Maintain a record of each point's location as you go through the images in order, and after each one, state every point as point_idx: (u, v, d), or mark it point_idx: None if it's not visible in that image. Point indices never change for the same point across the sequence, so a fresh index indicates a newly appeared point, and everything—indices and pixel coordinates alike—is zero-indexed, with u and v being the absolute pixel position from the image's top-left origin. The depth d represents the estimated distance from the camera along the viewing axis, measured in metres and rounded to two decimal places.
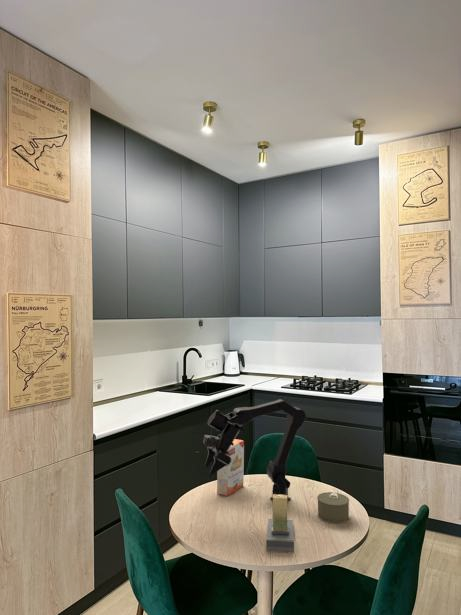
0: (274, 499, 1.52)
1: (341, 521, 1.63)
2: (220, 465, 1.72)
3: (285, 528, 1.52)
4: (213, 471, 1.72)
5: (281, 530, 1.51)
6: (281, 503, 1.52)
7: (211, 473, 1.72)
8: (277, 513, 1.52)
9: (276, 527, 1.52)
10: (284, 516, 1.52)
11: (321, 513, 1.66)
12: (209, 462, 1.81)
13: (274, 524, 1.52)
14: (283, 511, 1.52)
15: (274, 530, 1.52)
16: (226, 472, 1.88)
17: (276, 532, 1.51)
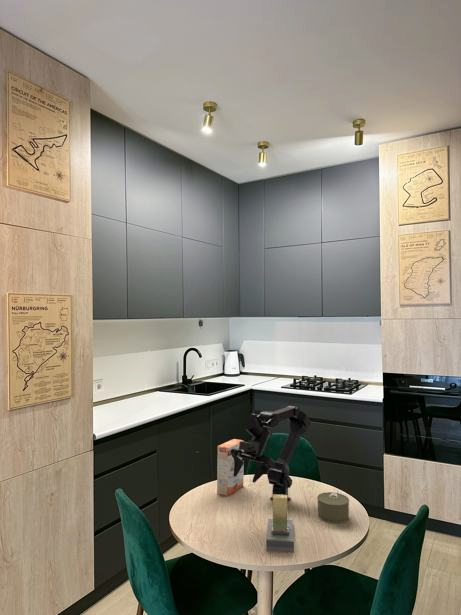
0: (274, 499, 1.52)
1: (341, 521, 1.63)
2: (263, 471, 1.65)
3: (285, 528, 1.52)
4: (256, 478, 1.64)
5: (281, 530, 1.51)
6: (281, 503, 1.52)
7: (254, 480, 1.63)
8: (277, 513, 1.52)
9: (276, 527, 1.52)
10: (284, 516, 1.52)
11: (321, 513, 1.66)
12: (237, 471, 1.70)
13: (274, 524, 1.52)
14: (283, 511, 1.52)
15: (274, 530, 1.52)
16: (226, 472, 1.88)
17: (276, 532, 1.51)
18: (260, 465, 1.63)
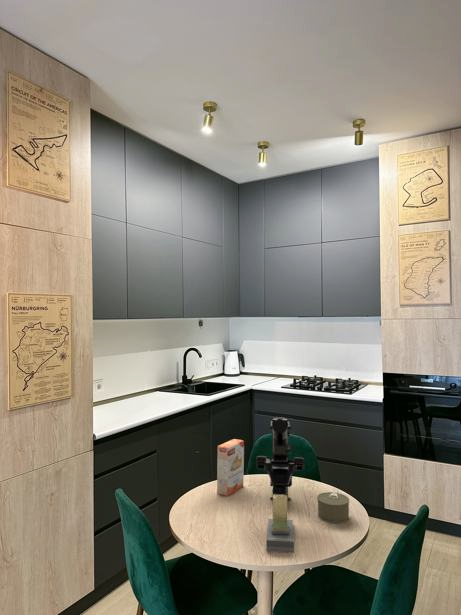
0: (274, 499, 1.52)
1: (341, 521, 1.63)
2: (291, 473, 1.69)
3: (285, 528, 1.52)
4: (289, 480, 1.66)
5: (281, 530, 1.51)
6: (281, 503, 1.52)
7: (288, 483, 1.65)
8: (277, 513, 1.52)
9: (276, 527, 1.52)
10: (284, 516, 1.52)
11: (321, 513, 1.66)
12: (272, 478, 1.67)
13: (274, 524, 1.52)
14: (283, 511, 1.52)
15: (274, 530, 1.52)
16: (226, 472, 1.88)
17: (276, 532, 1.51)
18: (292, 466, 1.67)
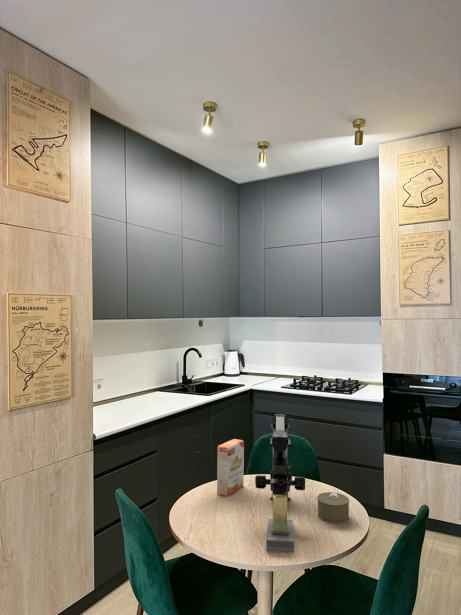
0: (274, 499, 1.52)
1: (341, 521, 1.63)
2: (284, 493, 1.64)
3: (285, 528, 1.52)
4: None
5: (281, 530, 1.51)
6: (281, 503, 1.52)
7: None
8: (277, 513, 1.52)
9: (276, 527, 1.52)
10: (284, 516, 1.52)
11: (321, 513, 1.66)
12: None
13: (274, 524, 1.52)
14: (283, 511, 1.52)
15: (274, 530, 1.52)
16: (226, 472, 1.88)
17: (276, 532, 1.51)
18: (285, 486, 1.62)
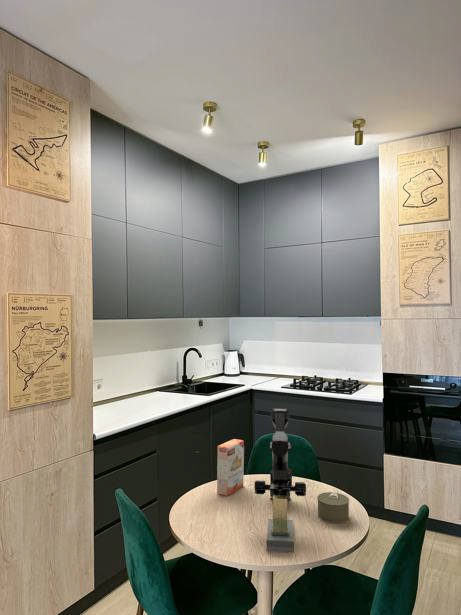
0: (274, 500, 1.52)
1: (341, 521, 1.63)
2: None
3: (285, 529, 1.51)
4: None
5: (281, 531, 1.51)
6: (281, 504, 1.51)
7: None
8: (277, 514, 1.51)
9: (276, 528, 1.51)
10: (284, 517, 1.51)
11: (321, 513, 1.66)
12: None
13: (274, 525, 1.51)
14: (283, 511, 1.51)
15: (274, 531, 1.51)
16: (226, 472, 1.88)
17: (276, 533, 1.50)
18: (285, 492, 1.57)
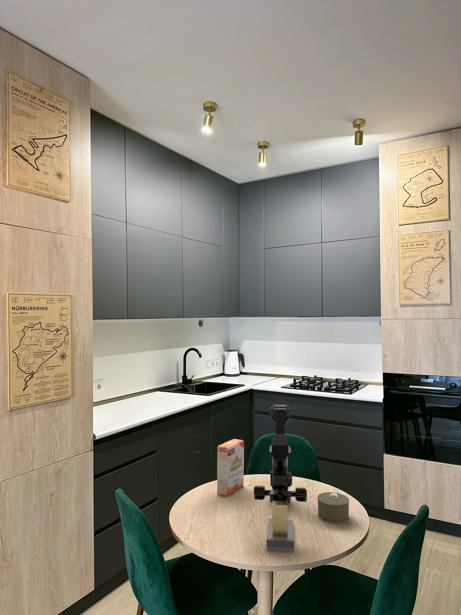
0: (274, 506, 1.47)
1: (341, 521, 1.63)
2: None
3: (285, 536, 1.46)
4: None
5: (281, 538, 1.46)
6: (281, 510, 1.46)
7: None
8: (277, 521, 1.46)
9: (276, 535, 1.46)
10: (284, 523, 1.46)
11: (321, 513, 1.66)
12: None
13: (274, 532, 1.46)
14: (283, 518, 1.46)
15: (274, 538, 1.46)
16: (226, 472, 1.88)
17: None
18: (286, 498, 1.52)
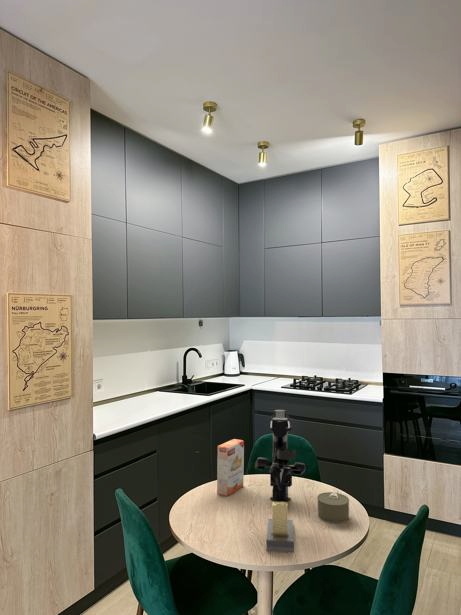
0: (274, 507, 1.46)
1: (341, 521, 1.63)
2: None
3: (285, 537, 1.46)
4: None
5: (281, 539, 1.45)
6: (281, 511, 1.46)
7: (281, 487, 1.63)
8: (277, 521, 1.46)
9: (276, 536, 1.46)
10: (284, 524, 1.46)
11: (321, 513, 1.66)
12: None
13: (274, 533, 1.46)
14: (283, 519, 1.46)
15: None
16: (226, 472, 1.88)
17: None
18: (287, 471, 1.65)
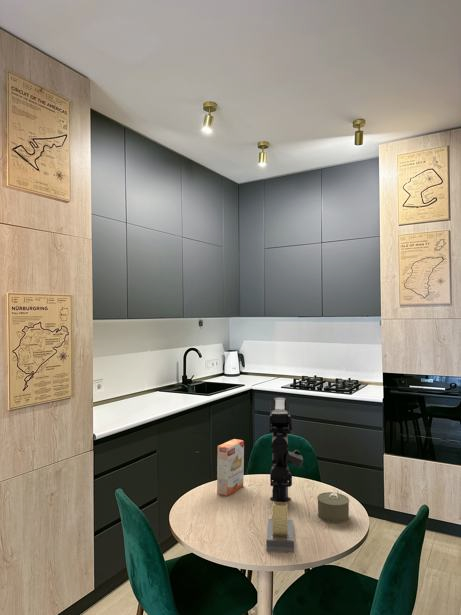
0: (274, 507, 1.46)
1: (341, 521, 1.63)
2: None
3: (285, 537, 1.46)
4: None
5: (281, 539, 1.45)
6: (281, 511, 1.46)
7: None
8: (277, 521, 1.46)
9: (276, 536, 1.46)
10: (284, 524, 1.46)
11: (321, 513, 1.66)
12: None
13: (274, 533, 1.46)
14: (283, 519, 1.46)
15: None
16: (226, 472, 1.88)
17: None
18: None
